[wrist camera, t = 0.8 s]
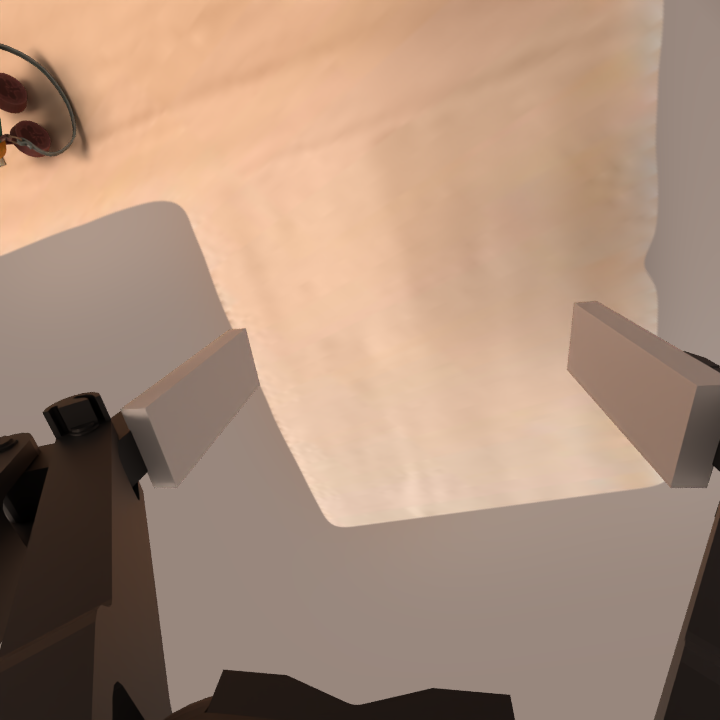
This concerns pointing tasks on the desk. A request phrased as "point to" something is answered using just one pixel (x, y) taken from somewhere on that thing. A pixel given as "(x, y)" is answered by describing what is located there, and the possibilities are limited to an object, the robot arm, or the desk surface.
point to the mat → (2, 162)
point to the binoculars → (13, 99)
